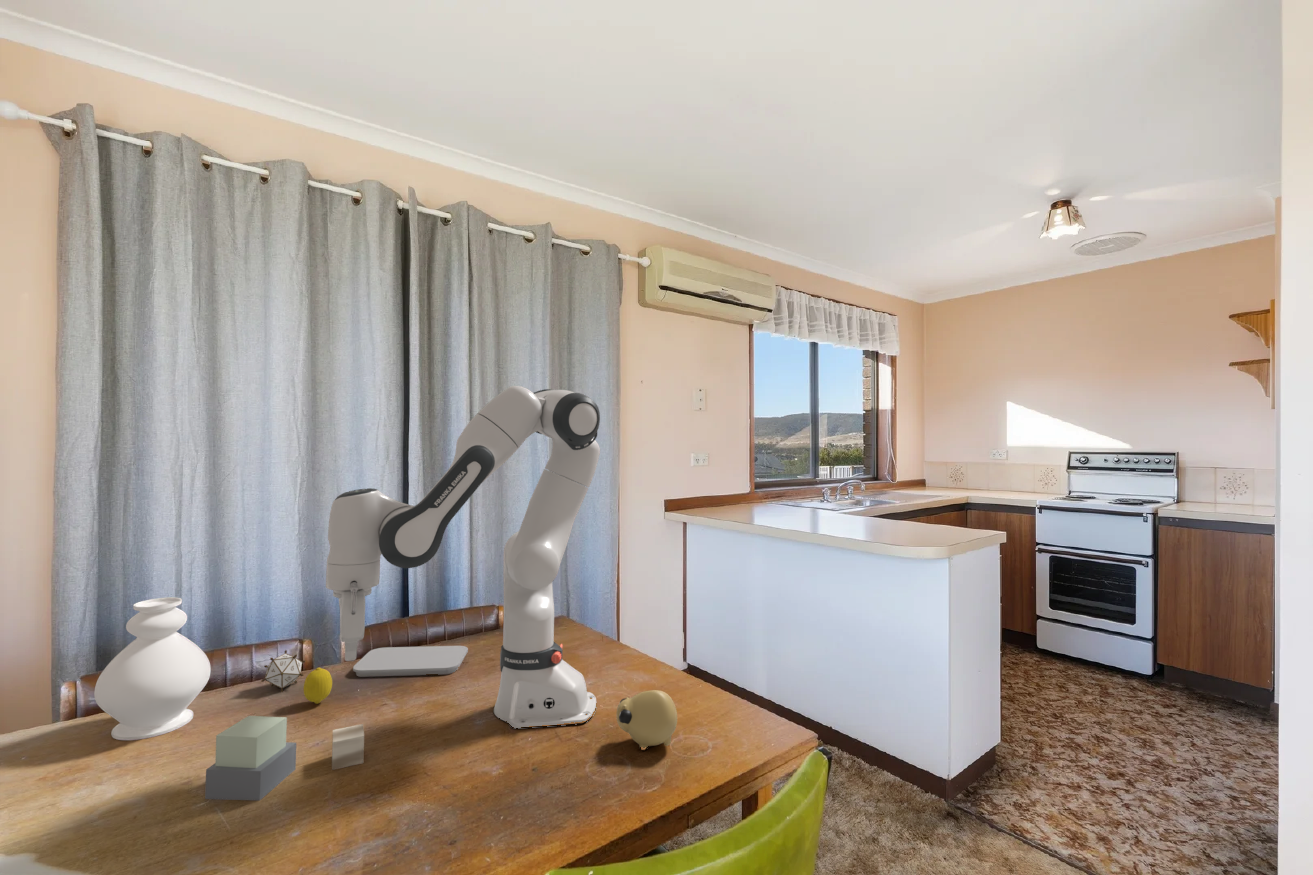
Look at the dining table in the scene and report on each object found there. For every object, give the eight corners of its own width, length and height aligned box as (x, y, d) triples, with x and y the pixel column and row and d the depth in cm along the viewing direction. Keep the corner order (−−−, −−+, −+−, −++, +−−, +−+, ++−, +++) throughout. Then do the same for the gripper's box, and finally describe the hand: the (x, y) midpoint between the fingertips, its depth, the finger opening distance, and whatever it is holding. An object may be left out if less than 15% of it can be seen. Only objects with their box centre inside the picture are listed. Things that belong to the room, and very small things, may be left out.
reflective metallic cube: (363, 763, 104) (364, 735, 104) (331, 770, 102) (332, 742, 102) (362, 750, 108) (363, 724, 108) (332, 757, 106) (332, 730, 106)
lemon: (337, 699, 130) (338, 663, 130) (320, 710, 124) (321, 673, 124) (314, 697, 130) (315, 662, 130) (296, 708, 125) (298, 671, 125)
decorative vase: (164, 701, 127) (168, 588, 127) (230, 710, 123) (234, 594, 124) (67, 741, 110) (72, 610, 110) (140, 753, 106) (145, 618, 106)
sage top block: (285, 746, 100) (286, 717, 101) (255, 768, 93) (256, 737, 94) (247, 744, 101) (248, 715, 101) (215, 766, 94) (216, 735, 94)
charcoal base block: (295, 770, 102) (296, 742, 102) (259, 802, 93) (260, 771, 93) (245, 769, 102) (246, 741, 102) (205, 800, 93) (206, 769, 93)
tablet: (457, 676, 145) (457, 667, 145) (348, 679, 141) (348, 670, 141) (469, 653, 161) (470, 645, 161) (372, 656, 157) (373, 647, 158)
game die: (276, 707, 133) (247, 681, 128) (280, 681, 140) (253, 656, 135) (314, 685, 135) (287, 659, 130) (316, 660, 142) (291, 635, 137)
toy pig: (618, 731, 118) (619, 679, 118) (676, 732, 117) (677, 680, 118) (613, 756, 108) (614, 700, 108) (677, 758, 107) (678, 701, 108)
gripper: (375, 587, 98) (371, 667, 98) (369, 564, 116) (366, 632, 116) (333, 590, 95) (329, 673, 95) (334, 566, 113) (331, 636, 113)
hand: (349, 651), depth 106 cm, fingers open, 8 cm apart
